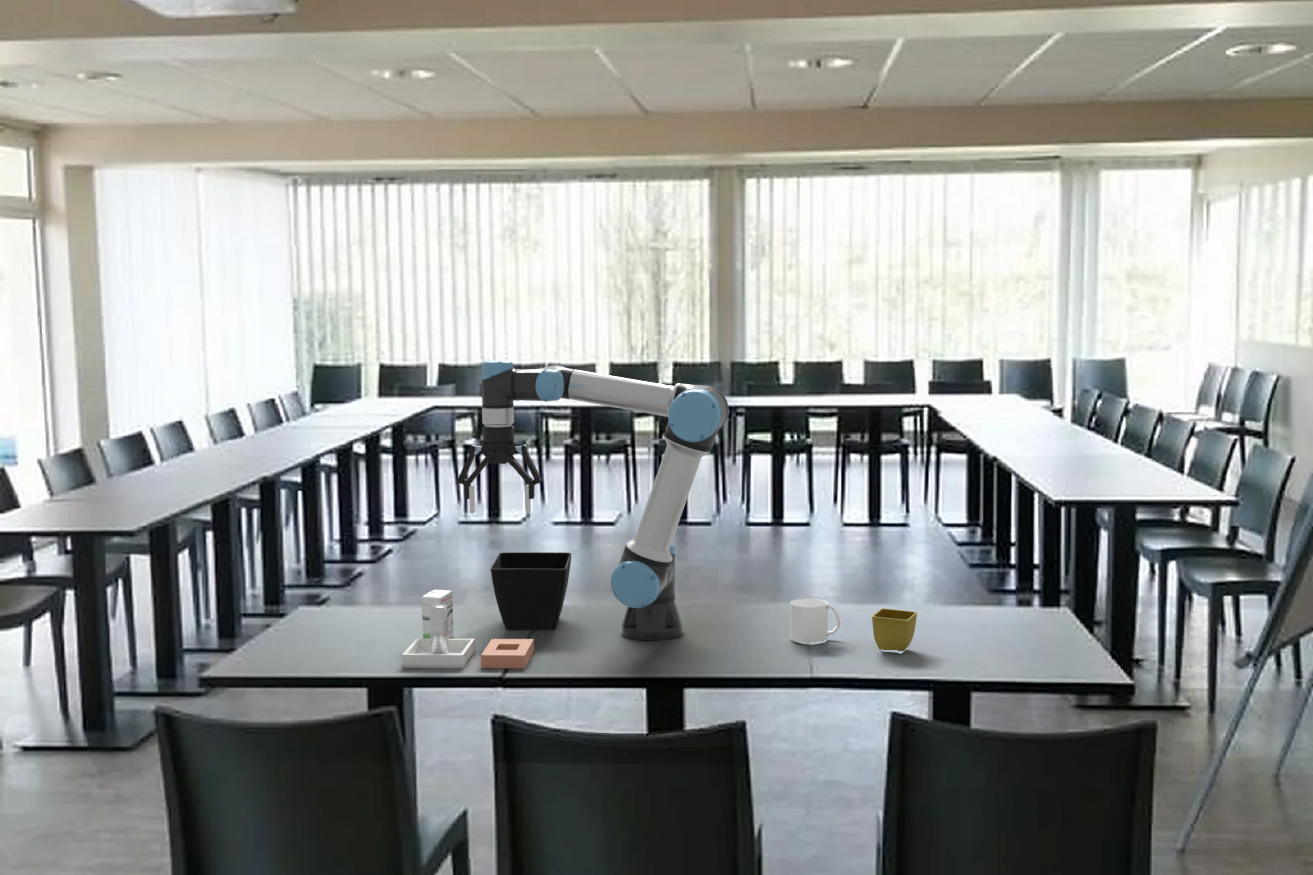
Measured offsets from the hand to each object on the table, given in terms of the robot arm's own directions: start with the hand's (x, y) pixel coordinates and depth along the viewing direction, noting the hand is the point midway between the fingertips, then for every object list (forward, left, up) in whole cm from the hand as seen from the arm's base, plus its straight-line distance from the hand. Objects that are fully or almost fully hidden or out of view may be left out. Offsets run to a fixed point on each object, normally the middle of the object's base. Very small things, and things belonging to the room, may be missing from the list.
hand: (500, 512), depth 325 cm
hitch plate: (-4, +17, -32) cm, 36 cm away
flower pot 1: (-5, -16, -32) cm, 36 cm away
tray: (+12, +17, -32) cm, 38 cm away
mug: (-76, -2, -32) cm, 82 cm away
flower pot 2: (-94, +7, -32) cm, 100 cm away
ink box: (+16, 0, -32) cm, 36 cm away
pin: (+12, +17, -31) cm, 37 cm away
